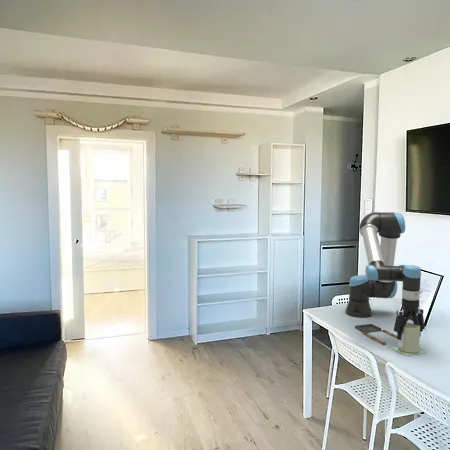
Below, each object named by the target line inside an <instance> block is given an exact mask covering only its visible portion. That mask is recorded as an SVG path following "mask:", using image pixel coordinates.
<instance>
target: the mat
mask: <svg viewBox="0 0 450 450" xmlns="http://www.w3.org/2000/svg"><path fill="white" fill-rule="evenodd" d="M390 348H391V349H392V350H394V351H396V352H398V353H399V354H400V355H401V354H402V355H403V356H405V357H407V356H414V355H420V354H421V355H422V354H427V353H428V352H427V351H425V350H423V349H420V348H419V352H416V353H409V352H404V351H402V350H400V349H399V348H398V345H396V346H391V347H390Z"/></svg>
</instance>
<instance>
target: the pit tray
mask: <svg viewBox="0 0 450 450" xmlns="http://www.w3.org/2000/svg"><path fill="white" fill-rule="evenodd" d="M354 329H355V330H357V331H359V332H361V333H363V332H366V333H368V334H369V333H376V332H382V328H381V327H379V326H378V325H376V324H373V323H367V324H358V325H354Z"/></svg>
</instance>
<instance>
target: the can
mask: <svg viewBox="0 0 450 450" xmlns="http://www.w3.org/2000/svg"><path fill="white" fill-rule="evenodd" d="M402 333H403V334H404V340H403V347H400V346H398V345H397V346H398V348H399V349H400V350H402V351H404V352H409V353H416V352H419V349H420V342H419V336H420V326H419V325H415V324H414V322H408V321H407V323H406V325H405V327H404V330H403V332H402ZM420 337H421V336H420Z"/></svg>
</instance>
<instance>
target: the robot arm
mask: <svg viewBox="0 0 450 450" xmlns="http://www.w3.org/2000/svg"><path fill="white" fill-rule="evenodd" d="M358 230H359V233H360V236H362V239H363V244H364V249H365V254H366V258H367V263H368V264H367V265H366V266H365V270H364V271H365V272H364V273H365V275H364V274H360V275H359V274H357V275H354V276H351V277H350V279H349V284H348V286H349V287H348V288H349V290H348V302H347V305H346V307H345V314H346V315H348V316H350V317H351V316H352V317H356V318H368V317H369V318H370V317H372V314H373V313H372V308H371V304H370V298H373V299H375V298H376V299H393V298H394V297H395V296H396V295H397V292H398V282H401V283H402V290H401V294H402V295H401V297H402V298H401V306H402V309H401V310H397V311H396V317H395V321H394V326H393V331H394V332H396V335H397V338H396V339H397V346H400V347H403V340H404V334H403V333H402V332H403V330H404V327H405V325H406V323H407V322H408V321H409V320H410V319H411V320H412V323H414V324H415V325H419V326H420V336H419V343H420V341H421V339H420V338H421V334H422V332H423V331H424V330H425V327H426V326H425V319H424V312H425V311H424V309H422V308H420V300H419V299H420V297H421V295H420V292H421V277H422V268H421V267H420V266H418V265H415V264H413V265H412V264H407V265H406V264H399V265H395V258H396V250H397V242H398V239H400V238H401V234H405V232H406V221H405V218H404V215H403V214H402V213H401V212H385V211H384V212H381V211H380V212H379V211H377V212H376V211H374V212H370V213H368V214H366V215H365V216H364V217H363V218H362V220H361V221H360V223H359V227H358ZM379 237H380V241H379Z"/></svg>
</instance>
